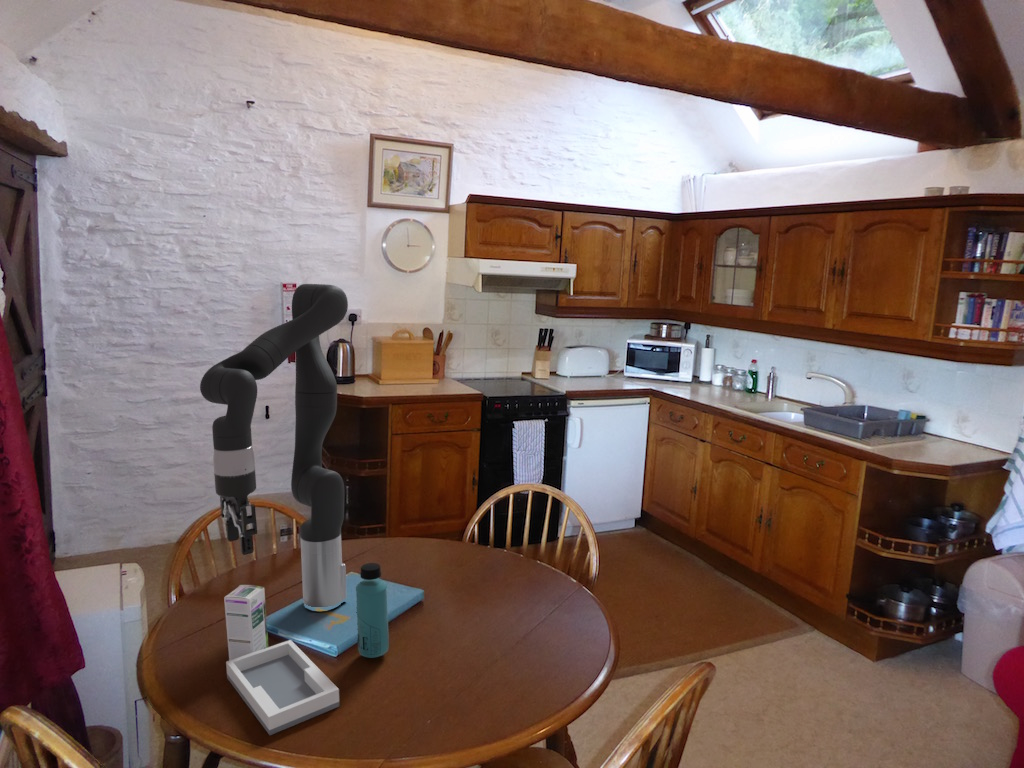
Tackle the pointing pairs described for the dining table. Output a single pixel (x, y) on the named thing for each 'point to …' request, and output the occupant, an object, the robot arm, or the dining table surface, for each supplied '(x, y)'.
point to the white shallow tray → (282, 686)
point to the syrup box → (246, 620)
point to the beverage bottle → (372, 612)
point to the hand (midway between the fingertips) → (240, 546)
